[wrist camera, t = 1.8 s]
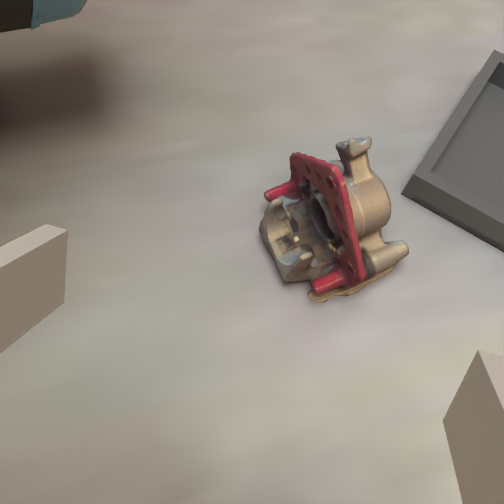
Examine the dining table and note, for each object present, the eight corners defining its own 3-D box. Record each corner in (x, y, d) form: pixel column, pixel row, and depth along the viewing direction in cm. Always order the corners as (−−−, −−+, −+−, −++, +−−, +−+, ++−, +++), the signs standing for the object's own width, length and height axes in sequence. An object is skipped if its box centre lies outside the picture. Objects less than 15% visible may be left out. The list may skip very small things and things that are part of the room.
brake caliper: (213, 203, 38) (306, 92, 30) (301, 201, 45) (393, 113, 37) (274, 329, 34) (398, 240, 26) (358, 304, 41) (474, 229, 34)
